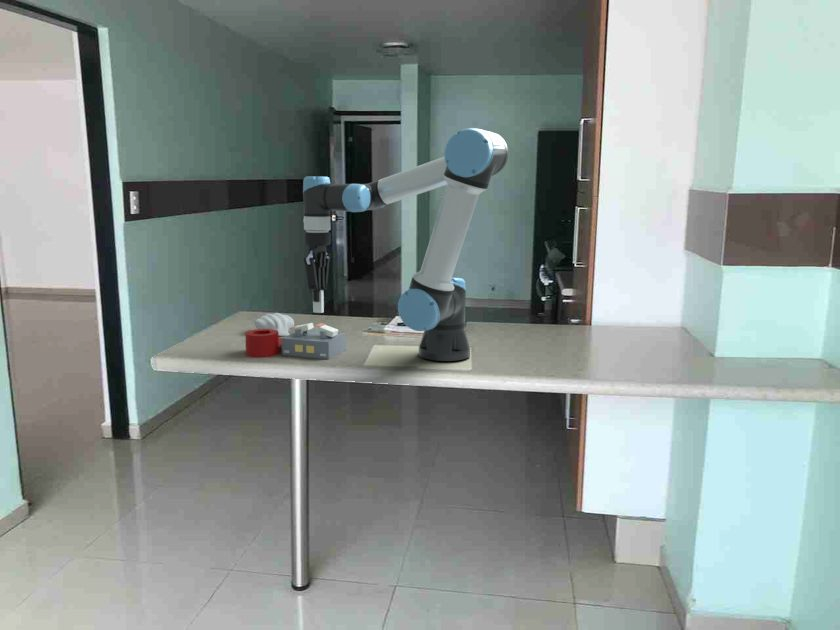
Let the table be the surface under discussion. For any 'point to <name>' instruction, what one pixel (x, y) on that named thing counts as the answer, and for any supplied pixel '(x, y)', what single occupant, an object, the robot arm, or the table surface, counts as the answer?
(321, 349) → the panel
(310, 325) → the rocker
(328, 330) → the rocker
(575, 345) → the table surface
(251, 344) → the lever
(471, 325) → the table surface
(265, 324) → the shell shaped sculpture
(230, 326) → the table surface
